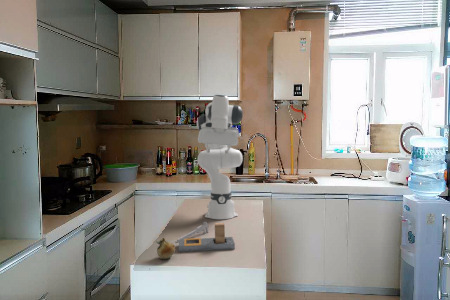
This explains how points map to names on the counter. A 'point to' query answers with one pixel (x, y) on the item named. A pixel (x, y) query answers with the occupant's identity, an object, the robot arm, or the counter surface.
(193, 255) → the counter surface
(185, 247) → the rail
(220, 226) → the peg
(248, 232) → the counter surface
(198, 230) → the caliper
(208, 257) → the counter surface
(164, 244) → the onion
